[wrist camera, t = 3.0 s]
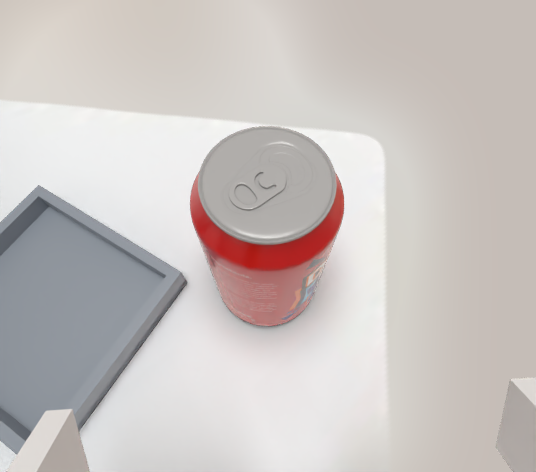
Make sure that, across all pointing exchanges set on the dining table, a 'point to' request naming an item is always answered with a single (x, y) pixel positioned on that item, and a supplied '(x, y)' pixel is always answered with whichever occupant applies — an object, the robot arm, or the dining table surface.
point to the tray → (70, 310)
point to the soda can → (267, 220)
